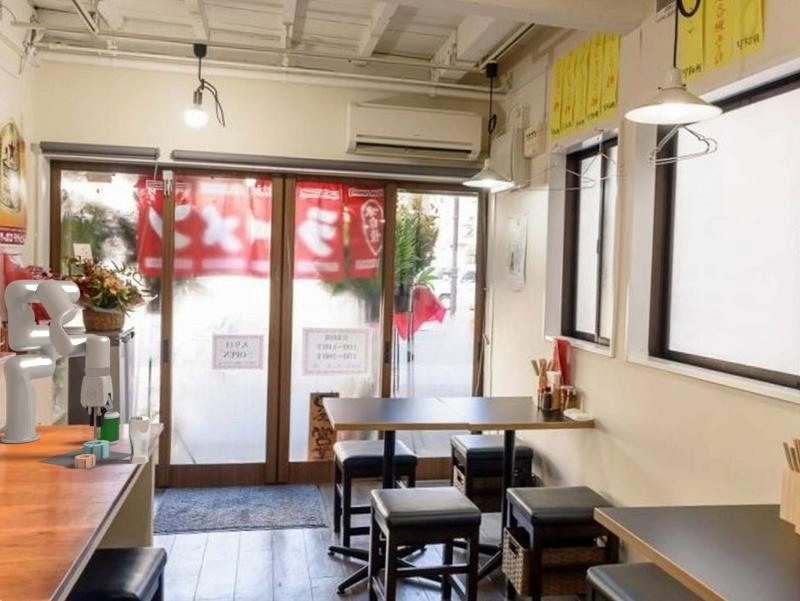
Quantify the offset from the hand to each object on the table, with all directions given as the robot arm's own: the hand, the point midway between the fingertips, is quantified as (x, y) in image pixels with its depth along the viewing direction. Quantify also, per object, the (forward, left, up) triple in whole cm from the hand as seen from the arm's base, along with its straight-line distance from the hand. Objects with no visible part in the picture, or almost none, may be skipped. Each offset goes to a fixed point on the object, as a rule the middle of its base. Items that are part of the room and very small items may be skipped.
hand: (97, 425), depth 219 cm
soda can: (-9, +15, -11) cm, 21 cm away
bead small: (+5, -10, -11) cm, 15 cm away
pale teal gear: (0, 0, -11) cm, 11 cm away
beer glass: (+17, +1, -11) cm, 20 cm away
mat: (-1, -3, -11) cm, 11 cm away
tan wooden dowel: (0, 0, -4) cm, 4 cm away
